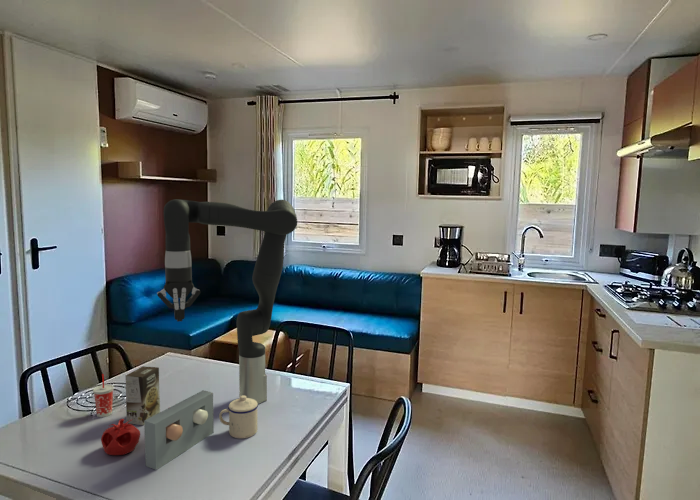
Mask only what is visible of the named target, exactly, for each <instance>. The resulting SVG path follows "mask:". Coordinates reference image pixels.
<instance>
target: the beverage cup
mask: <svg viewBox="0 0 700 500" xmlns="http://www.w3.org/2000/svg"><path fill="white" fill-rule="evenodd" d="M104 376H105V375H104V373H101V377H102V378H101V379H102V381H101V382H102V385H98V386H96V387H94V388H93V390H92V393H93V394H94V395H93V397H94V403H95V411H96V416H97V418H107V417H109V416H111V415H112V414H113V404H114V403H113V398H114V397H113V396H114V395H113V394H114V388H115V387H114V385H113V384H105V377H104Z"/></svg>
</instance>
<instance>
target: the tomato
mask: <svg viewBox="0 0 700 500" xmlns="http://www.w3.org/2000/svg"><path fill="white" fill-rule="evenodd" d="M132 420H133V419H132ZM132 420H129V421H132ZM124 421H125V419H124V418H120V419H119V420H118V423H117V424H115V423H112V424H109V425H108V428H106V429H105V430H104V431H103V432H102V435H101V438H100V441H101V445H102V449H103V451H104V453H105V454H106V455H110V456H123V455H127V454H128V453H129V454H130V453H132V452H133V451H134V450H135V449H136V447H137V445H138V444H139V442H140V438H141V430H139V429H138V428H137V427H136V426H135V425H134V424H130V423H128V422H129V421H128V422H127V421H126V422H124ZM110 426H111V427H110Z"/></svg>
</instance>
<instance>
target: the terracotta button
mask: <svg viewBox="0 0 700 500" xmlns="http://www.w3.org/2000/svg"><path fill="white" fill-rule="evenodd" d="M182 432H183V428H182V426H180V425H177V424H174V423H172V424H170V425H169V426H167V427H166V438H168V439H171V440H174V441H176V440H178V439H179V438H180V437H181V435H182Z"/></svg>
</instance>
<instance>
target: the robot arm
mask: <svg viewBox="0 0 700 500" xmlns="http://www.w3.org/2000/svg"><path fill="white" fill-rule="evenodd" d="M163 223H164V230H165V255H164V269H165V271H164V272H165V273H164V274H165V283H164V286H163V288H162V289H161V290H160V291H157V292H156V296H157V297H158V299H160V300H161V301H162V302H163V303H164V304H165V306H167V308H168V309H173V310H174V315H173V316H174V320H175V321H176V322H183V320H185V318H186V317H185V316H186V314H185V309H186V308H190V307H191V306H192V305H193V303H194V302H195V301H196V300H197V298H198V297H199V296H200V294H201V293H202V291H201V290H200V289H198V288H197V287H195V285H194V283H193V277H192V276H193V271H192V270H193V269H192V264H193V263H192V253H191V236H190V232H189V227H190V226H189V225H190V223H194V224H195V223H199V224H201V225H206V226H208V225H209V226H224V227H225V226H227V227H236V228H245V229H249V230H250V229H251V230H254V231H261V232H263V233H264V234H263V238H262V241H261V245H260V247H259V251H258V254H257V258H256V260H255V261H256V262H255V265H254V268H253V272H252V278H251V279H252V284H253V286H254V288H255V290H256V292H257V294H258V297H259V300H258V305H257V308H256V309H249V310H243V311H241V312H239V313H238V314H237V317H236V337H237V338H236V339H237V346H238V347H237V348H238V358H239V359H238V362H239V363H238V367H239V368H238V370H239V372H238V376H239V380H238V381H239V385H238V386H239V388H238V389H239V391H238V393H239V396H238V397H239V398H240V396H242V395H245V396H246V397H247V398H251V399H254V400H256V401H257V403H258V405H259V404H261V403H263V402H266V401H267V400H268V375H267V373H266V347H265V345H264V344H263V343H261V342H257V341H256V342H255V341H254V340H253V337H254V336H259V335H263V334H266V333H268V331H269V328H270V326H271V324H272V323H271V321H272V315H273V310H274V304H275V299H276V294H277V290H278V286H279V283H280V279H281V275H282V272H283V268H284V259H285V243H286V239H287V235H290V234H291V233H292V232H294V231H295V230H296V229H297V226H298V216H297V214H296V211H295V208H294V206H293V205H292V204H291V203H290V202H289V201H287V200H286V199H278V200H277V199H276V200H275V201H273V202H272V203H271V204H270V205H269V206H268V208H267V210H254V209H249V208H245V207H242V206H239V205H236V204H231V203H227V202H217V201H216V202H215V201H195V200H188V199H171V200H169V201H168V202H166V203H165V205H164V206H163ZM190 293H191V296H190V297H189V298H188V300H187V301H186V298H187V297H188V296H189V295H190ZM167 294H168V295H169V297H171V298H172V300H173V303H172V302H171V301H170V300H169V299H168V298H167ZM179 299H180V300H179ZM239 398H238V399H239Z"/></svg>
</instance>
